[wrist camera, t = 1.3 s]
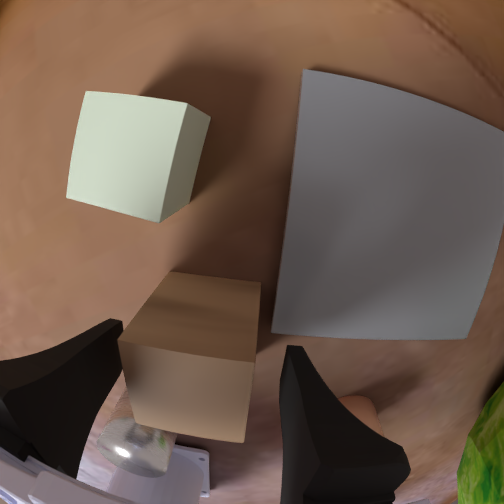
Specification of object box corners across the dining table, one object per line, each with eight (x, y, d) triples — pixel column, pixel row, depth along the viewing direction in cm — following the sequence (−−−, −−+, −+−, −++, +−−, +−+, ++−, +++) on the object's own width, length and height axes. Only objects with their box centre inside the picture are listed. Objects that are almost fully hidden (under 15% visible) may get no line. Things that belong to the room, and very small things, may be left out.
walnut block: (252, 355, 16) (243, 443, 10) (172, 344, 16) (135, 422, 10) (261, 282, 14) (255, 362, 9) (170, 271, 14) (117, 339, 9)
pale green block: (189, 203, 13) (159, 223, 10) (114, 184, 13) (66, 197, 9) (211, 117, 12) (187, 103, 8) (131, 103, 12) (85, 91, 8)
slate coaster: (459, 332, 15) (465, 338, 14) (270, 324, 15) (271, 332, 14) (506, 137, 11) (515, 137, 10) (301, 73, 11) (303, 69, 10)
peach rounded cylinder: (362, 430, 18) (373, 473, 14) (310, 431, 18) (314, 477, 14) (382, 394, 16) (399, 439, 13) (324, 394, 17) (333, 444, 13)
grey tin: (185, 428, 18) (170, 483, 14) (129, 415, 19) (106, 465, 14) (182, 389, 17) (161, 450, 12) (119, 375, 17) (88, 428, 12)
